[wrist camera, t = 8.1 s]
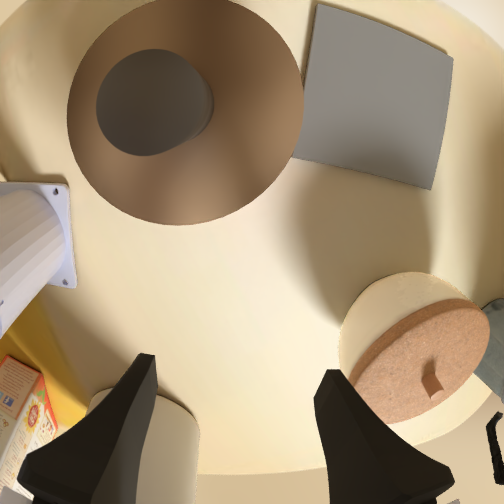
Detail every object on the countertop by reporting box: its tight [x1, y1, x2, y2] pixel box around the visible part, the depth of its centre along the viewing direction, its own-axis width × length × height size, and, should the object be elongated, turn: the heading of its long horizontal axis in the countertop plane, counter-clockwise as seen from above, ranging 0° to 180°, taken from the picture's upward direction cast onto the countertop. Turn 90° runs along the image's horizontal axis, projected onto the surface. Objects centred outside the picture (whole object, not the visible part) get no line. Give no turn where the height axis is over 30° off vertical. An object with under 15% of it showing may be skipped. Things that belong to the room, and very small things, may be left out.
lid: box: [67, 0, 304, 225], centre depth 9 cm, size 10×10×5 cm
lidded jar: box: [338, 272, 490, 424], centre depth 18 cm, size 11×11×9 cm
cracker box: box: [0, 355, 58, 500], centre depth 18 cm, size 14×6×21 cm, turn 159°
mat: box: [291, 4, 453, 190], centre depth 15 cm, size 10×10×1 cm
